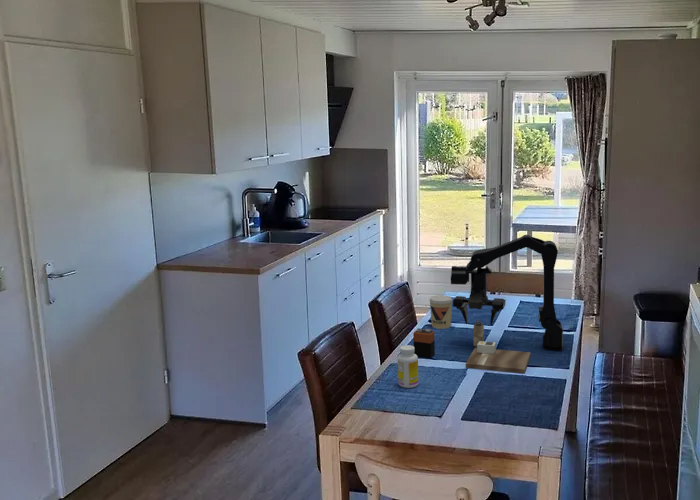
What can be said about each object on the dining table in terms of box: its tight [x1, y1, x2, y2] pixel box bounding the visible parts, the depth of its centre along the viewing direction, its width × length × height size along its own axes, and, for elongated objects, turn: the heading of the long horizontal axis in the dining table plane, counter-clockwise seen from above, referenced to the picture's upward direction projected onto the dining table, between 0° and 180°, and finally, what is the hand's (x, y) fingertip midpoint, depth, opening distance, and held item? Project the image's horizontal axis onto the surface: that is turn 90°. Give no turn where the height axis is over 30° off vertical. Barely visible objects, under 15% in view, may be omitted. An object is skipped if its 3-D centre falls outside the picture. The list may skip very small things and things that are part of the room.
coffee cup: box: [429, 294, 454, 330], centre depth 289 cm, size 9×9×12 cm
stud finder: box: [476, 341, 497, 354], centre depth 254 cm, size 6×4×3 cm, turn 69°
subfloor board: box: [465, 347, 532, 374], centre depth 248 cm, size 20×17×2 cm
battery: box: [412, 327, 436, 359], centre depth 257 cm, size 4×7×10 cm, turn 61°
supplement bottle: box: [397, 344, 419, 389], centre depth 230 cm, size 7×7×13 cm
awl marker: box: [473, 320, 485, 347], centre depth 266 cm, size 3×3×9 cm
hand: (478, 324), depth 265 cm, fingers open, 9 cm apart
